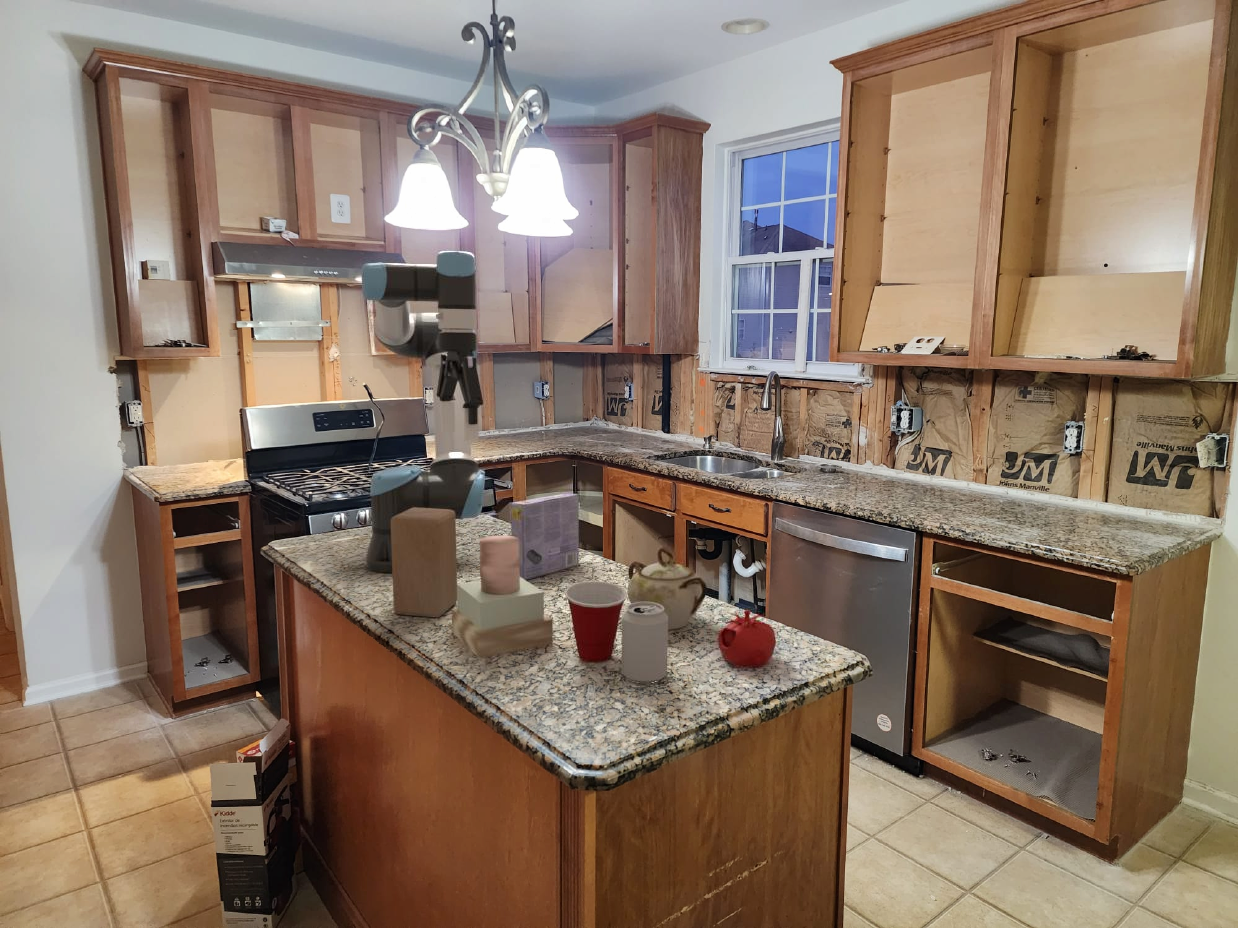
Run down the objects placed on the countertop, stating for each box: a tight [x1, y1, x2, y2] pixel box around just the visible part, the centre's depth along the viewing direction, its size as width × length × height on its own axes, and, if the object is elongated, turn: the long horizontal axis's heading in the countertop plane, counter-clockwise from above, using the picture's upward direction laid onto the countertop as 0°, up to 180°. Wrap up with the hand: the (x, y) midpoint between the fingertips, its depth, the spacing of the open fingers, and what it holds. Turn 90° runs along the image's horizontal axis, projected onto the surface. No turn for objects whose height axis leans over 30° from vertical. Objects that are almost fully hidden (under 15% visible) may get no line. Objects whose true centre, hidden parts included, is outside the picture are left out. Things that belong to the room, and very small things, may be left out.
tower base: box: [451, 607, 554, 659], centre depth 148 cm, size 14×14×5 cm
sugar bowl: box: [626, 547, 708, 631], centre depth 156 cm, size 20×15×15 cm
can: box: [621, 602, 669, 684], centre depth 131 cm, size 8×8×12 cm
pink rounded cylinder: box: [479, 535, 520, 595], centre depth 146 cm, size 7×7×9 cm
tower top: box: [456, 577, 545, 630], centre depth 147 cm, size 12×12×5 cm
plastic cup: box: [564, 580, 628, 664], centre depth 139 cm, size 11×11×12 cm
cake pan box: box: [510, 493, 580, 581], centre depth 189 cm, size 19×5×18 cm, turn 139°
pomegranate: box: [717, 609, 777, 668], centre depth 139 cm, size 10×10×9 cm
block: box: [391, 507, 458, 618], centre depth 162 cm, size 10×10×20 cm
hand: (459, 436), depth 165 cm, fingers open, 13 cm apart
